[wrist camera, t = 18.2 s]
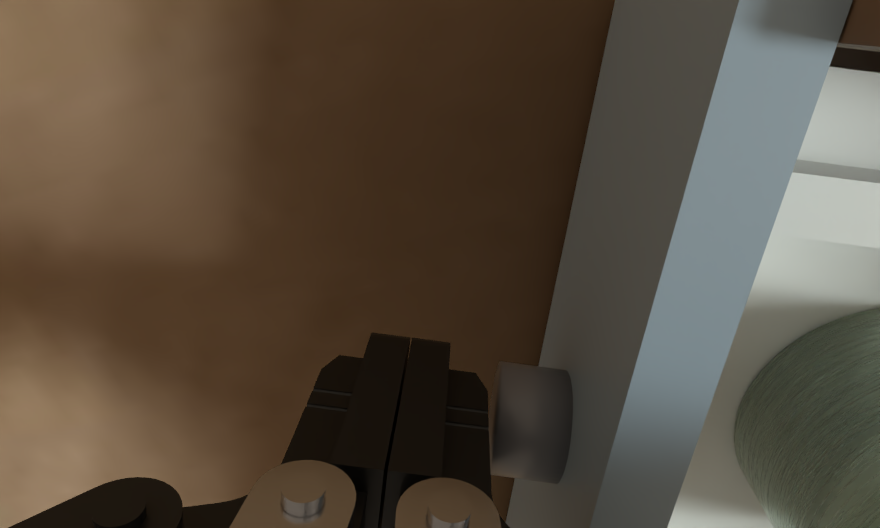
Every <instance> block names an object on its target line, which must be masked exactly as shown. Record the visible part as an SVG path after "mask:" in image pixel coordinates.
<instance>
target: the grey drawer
mask: <svg viewBox="0 0 880 528" xmlns="http://www.w3.org/2000/svg"><path fill="white" fill-rule="evenodd" d="M852 1H853V0H615V3H614V7H613V12H612V17H611V22H610V26H609V31H608V36H607V41H606V46H605V50H604V55H603V60H602V65H601V69H600V74H599V79H598V84H597V89H596V93H595V98H594V103H593V108H592V112H591V117H590V122H589V127H588V131H587V136H586V141H585V146H584V151H583V155H582V160H581V165H580V170H579V174H578V179H577V184H576V189H575V193H574V198H573V203H572V208H571V213H570V217H569V222H568V227H567V232H566V236H565V241H564V246H563V251H562V255H561V260H560V265H559V270H558V275H557V279H556V284H555V289H554V294H553V298H552V303H551V308H550V313H549V318H548V322H547V327H546V332H545V337H544V341H543V346H542V351H541V356H540V360H539V365H538V366H533V365H525V364H518V363H511V362H503V361H500V362H499V363H498V366H497V370H496V374H495V378H494V383H493V389H492V396H491V403H490V410H489V429H488V431H489V444H490V471H491V475H496V476H503V477H510V478H515V480H514V485H513V489H512V494H511V499H510V504H509V508H508V513H507V518H506V524H507V525H508V526H509V527H510V528H773V526H772V524H771V522H770V521H769V519H768V517H767V515H766V513H765V512H764V510H763V508H762V506H761V504H760V503H759V501H758V499H757V497H756V495H755V494H754V492H753V490H752V488H751V486H750V485H749V483H748V481H747V479H746V477H745V476H744V474H743V472H742V470H741V468H740V466H739V463H738V460H737V457H736V453H735V446H734V426H735V421H736V417H737V412H738V410H739V407H740V405H741V402H742V399H743V397H744V396H745V394H746V392H747V390H748V388H749V387H750V385H751V383H752V382H753V381H754V379H755V378H756V377H757V375H758V374H759V373H760V371H761V370H762V369H763V368H764V367H765V366H766V365H767V364H768V363H769V362H770V361H771V360H772V359H773V358H774V357H775V356H776V355H777V354H779V353H780V352H781V351H782V350H783V349H784V348H786V347H787V346H788V345H790V344H791V343H793V342H794V341H796V340H797V339H799V338H800V337H802V336H803V335H805V334H807V333H809V332H810V331H812V330H814V329H816V328H818V327H820V326H822V325H824V324H827V323H829V322H832V321H834V320H836V319H839V318H842V317H845V316H849V315H852V314H855V313H858V312H863V311H868V310H873V309H878V308H880V72H876V71H868V70H860V69H852V68H844V67H836V66H830V64H831V61H832V58H833V55H834V52H835V49H836V46H837V44H838V41H839V38H840V35H841V32H842V29H843V27H844V24H845V21H846V18H847V15H848V12H849V10H850V7H851V4H852Z"/></svg>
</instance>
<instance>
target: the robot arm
mask: <svg viewBox="0 0 880 528" xmlns="http://www.w3.org/2000/svg"><path fill="white" fill-rule="evenodd" d="M409 346H410V338H409V337H402V336H394V335H386V334H379V333H371V336H370V339H369V342H368V345H367V348H366V351H365V354H364V358H356V357H349V356H341V355H339V356H338V357H336V358H335V359H334V360H333V361H331V362H330V363H329V364H328V365H326V366H325V367H324V368H323V369H321V372H320V374H319V376H318V379H317V381H316V383H315V386H314V389H313V391H312V393H311V395H310V398H309V400H308V402H307V407H305V409H304V412H303V414H302V416H301V419H300V421H299V424H298V426H297V428H296V431H295V433H294V435H293V438H292V440H291V442H290V445H289V447H288V450H287V452H286V454H285V457H284V459H283V461H282V464H281V465H279V466H276V467H274V468H273V469H271V470H269V471H268V472H266V473H265V474H263V475H262V476H261V477H260V478H259V479H258V480H257V482H256V483H255V484H254V486H253V487H252V489H251V491H250V493H249V494H248V495H246V496H244V497H241V498H238V499H235V500H232V501H227V502H221V503H214V504H206V505H198V506H191V507H183V508H182V501H181V498H180V496H179V494H178V493H177V491H176V490H175V489H174V488H173V487H171V486H170V485H168V484H167V483H165V482H163V481H160V480H157V479H152V478H142V477H135V478H125V479H119V480H115V481H112V482H108V483H105V484H103V485H100V486H98V487H95V488H93V489H91V490H89V491H87V492H85V493H82V494H80V495H78V496H76V497H74V498H72V499H69V500H67V501H65V502H63V503H61V504H59V505H56V506H54V507H52V508H50V509H48V510H46V511H43V512H41V513H39V514H37V515H35V516H33V517H30V518H28V519H26V520H24V521H22V522H20V523H17V524H15V525H13V526H11V527H9V528H510V527H509V526H508V525H507V524H506V523H505V522H504V521H503V519H502V518H501V517H500V515H499V513H498V510H497V508H496V506H495V505H494V503H493V500H492V494H491V471H490V444H489V431H488V429H489V418H488V392H487V390H486V388H485V386H484V385H483V383H482V382H481V380H480V379H479V377H478V376H477V374H476V373H472V372H464V371H457V370H449V359H450V343H449V342H441V341H433V340H425V339H418V338H412V342H411V347H410V353H409ZM408 355H409V358H408ZM407 363H408V364H407Z"/></svg>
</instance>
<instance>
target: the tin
mask: <svg viewBox="0 0 880 528" xmlns="http://www.w3.org/2000/svg"><path fill="white" fill-rule="evenodd" d="M734 446H735V453H736V457H737V460H738V463H739V466H740V468H741V470H742V472H743V474H744V476H745V477H746V479H747V481H748V483H749V485H750V486H751V488H752V490H753V492H754V494H755V495H756V497H757V499H758V501H759V503H760V504H761V506H762V508H763V510H764V512H765V513H766V515H767V517H768V519H769V521H770V522H771V524H772V526H773V528H880V308H878V309H873V310H868V311H863V312H858V313H855V314H852V315H849V316H845V317H842V318H839V319H836V320H834V321H832V322H829V323H827V324H824V325H822V326H820V327H818V328H816V329H814V330H812V331H810V332H809V333H807V334H805V335H803V336H802V337H800V338H799V339H797V340H796V341H794V342H793V343H791V344H790V345H788V346H787V347H786V348H784V349H783V350H782V351H781V352H780V353H779V354H777V355H776V356H775V357H774V358H773V359H772V360H771V361H770V362H769V363H768V364H767V365H766V366H765V367H764V368H763V369H762V370H761V371H760V373H759V374H758V375H757V377H756V378H755V379H754V381H753V382H752V383H751V385H750V387H749V388H748V390H747V392H746V394H745V396H744V397H743V399H742V402H741V405H740V407H739V410H738V412H737V417H736V421H735V426H734Z"/></svg>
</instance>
